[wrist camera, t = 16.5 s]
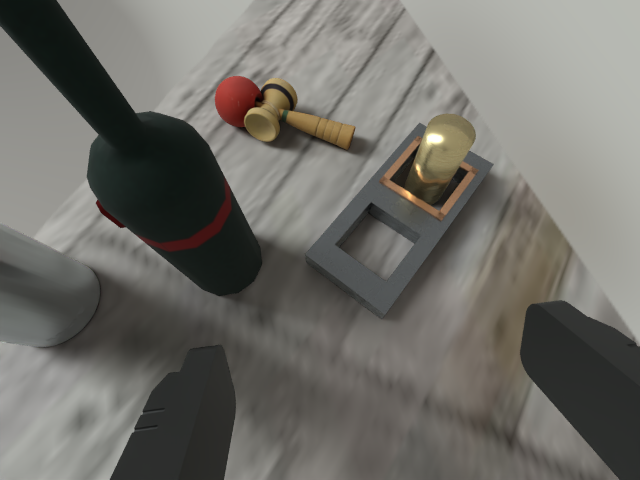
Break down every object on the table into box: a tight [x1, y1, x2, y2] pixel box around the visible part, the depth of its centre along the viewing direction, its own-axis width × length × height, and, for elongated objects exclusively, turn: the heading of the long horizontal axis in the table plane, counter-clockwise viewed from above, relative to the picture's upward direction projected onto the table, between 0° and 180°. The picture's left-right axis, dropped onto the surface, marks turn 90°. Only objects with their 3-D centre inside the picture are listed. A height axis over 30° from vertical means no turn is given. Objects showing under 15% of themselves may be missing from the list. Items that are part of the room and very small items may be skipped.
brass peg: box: [405, 114, 476, 205], centre depth 37 cm, size 4×4×10 cm
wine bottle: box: [0, 0, 262, 296], centre depth 24 cm, size 8×10×30 cm
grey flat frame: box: [305, 123, 494, 319], centre depth 38 cm, size 10×22×3 cm, turn 141°
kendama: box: [215, 76, 355, 150], centre depth 43 cm, size 8×6×18 cm
